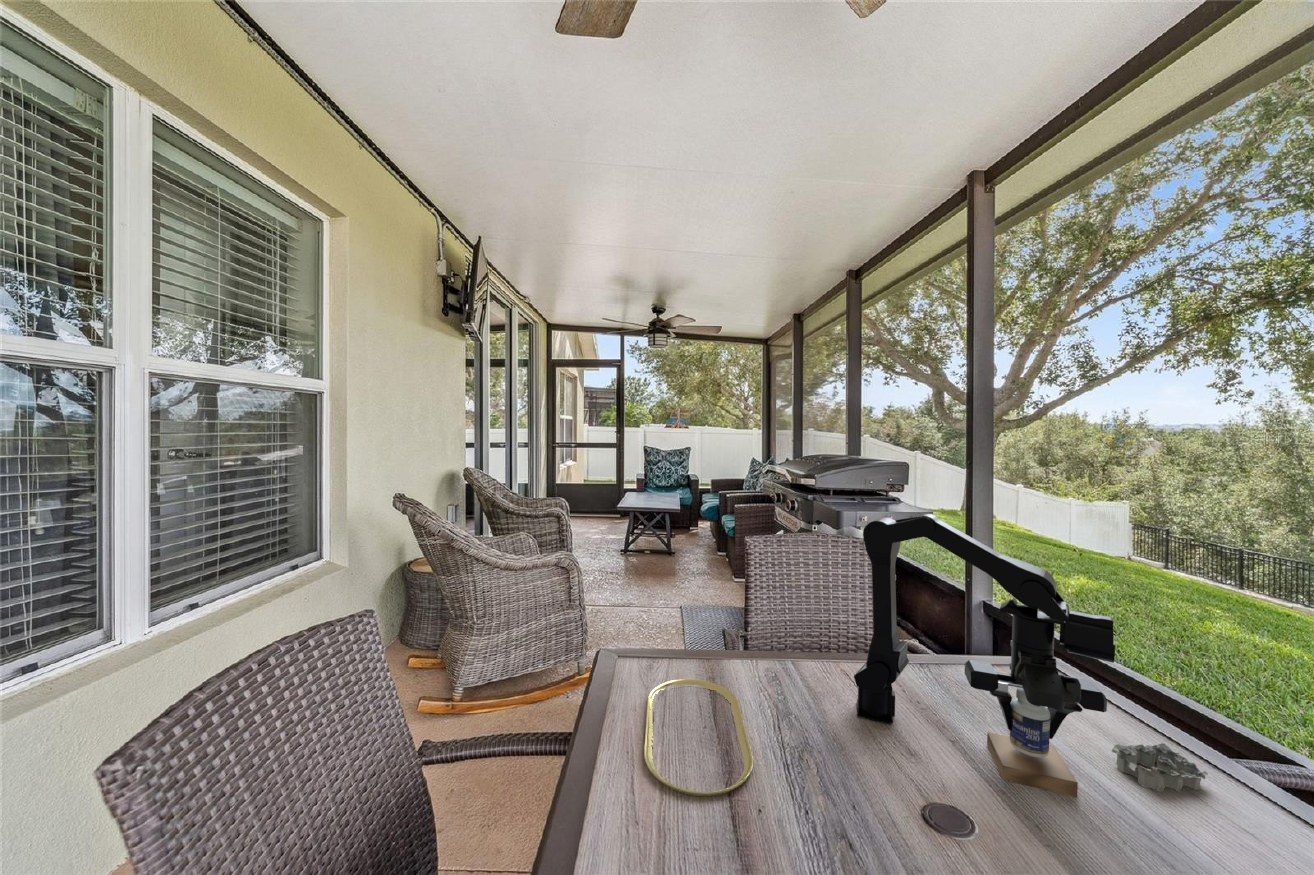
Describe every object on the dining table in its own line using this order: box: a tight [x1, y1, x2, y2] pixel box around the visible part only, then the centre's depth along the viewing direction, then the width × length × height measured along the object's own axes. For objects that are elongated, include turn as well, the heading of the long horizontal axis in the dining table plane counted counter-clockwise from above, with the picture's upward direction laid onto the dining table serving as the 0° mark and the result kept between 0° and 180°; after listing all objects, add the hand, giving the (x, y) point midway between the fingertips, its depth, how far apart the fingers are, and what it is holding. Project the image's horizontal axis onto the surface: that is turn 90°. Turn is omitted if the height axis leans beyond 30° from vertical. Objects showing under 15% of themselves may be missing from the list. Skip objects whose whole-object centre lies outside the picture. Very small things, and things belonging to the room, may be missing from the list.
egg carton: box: [1111, 742, 1209, 792], centre depth 84 cm, size 11×8×4 cm
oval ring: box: [643, 678, 754, 797], centre depth 94 cm, size 19×35×2 cm, turn 179°
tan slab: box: [986, 731, 1079, 798], centre depth 85 cm, size 10×10×2 cm
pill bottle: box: [1009, 687, 1050, 758], centre depth 85 cm, size 5×5×10 cm
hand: (1029, 733), depth 85 cm, fingers closed on pill bottle, 5 cm apart
